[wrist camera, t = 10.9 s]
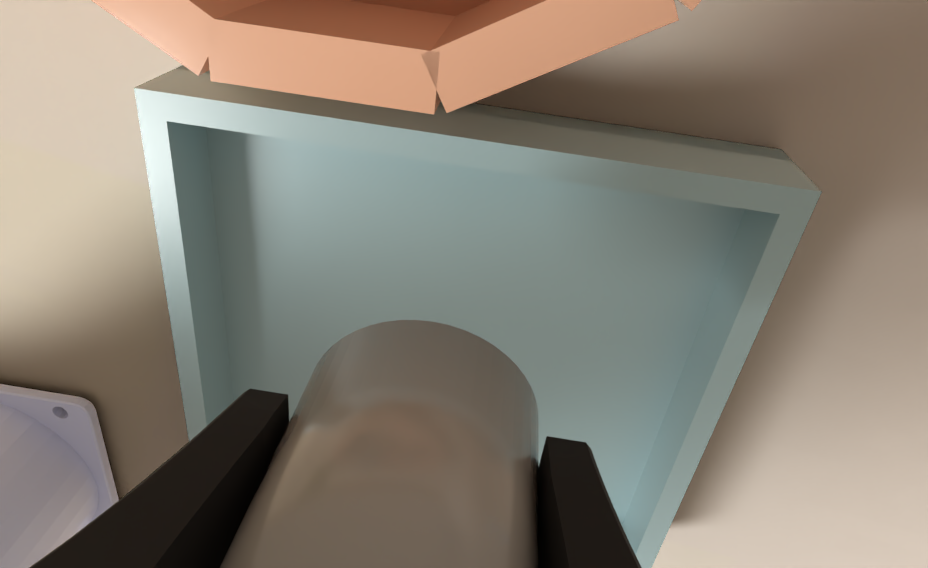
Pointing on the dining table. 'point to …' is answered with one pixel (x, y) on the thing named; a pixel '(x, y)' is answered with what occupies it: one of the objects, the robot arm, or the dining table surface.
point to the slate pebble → (402, 459)
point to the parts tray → (474, 259)
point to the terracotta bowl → (387, 43)
